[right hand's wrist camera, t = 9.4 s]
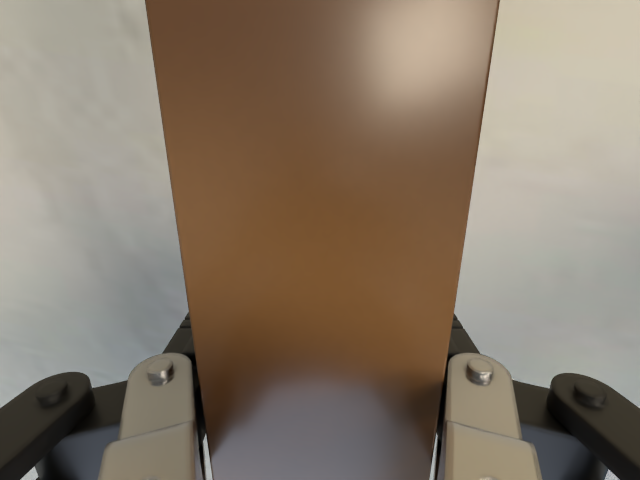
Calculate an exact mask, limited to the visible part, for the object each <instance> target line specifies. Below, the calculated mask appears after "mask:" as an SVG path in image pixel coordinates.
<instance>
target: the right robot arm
mask: <svg viewBox="0 0 640 480" xmlns="http://www.w3.org/2000/svg"><path fill="white" fill-rule="evenodd" d="M436 433H437V435H438V438H437V444H436V453H435V465H434V478H433V480H604V479H605V477H606V474H607V471H608V469H609V470H610V471H611V472H612V473H614V474H615V475H616V476H617V477H618V478H619V479H620V480H640V408H638V407H637V406H636V405H634V404H633V403H632V402H630V401H629V400H627V399H626V398H625V397H623V396H622V395H621V394H619V393H618V392H616V391H615V390H614V389H612V388H611V387H609V386H608V385H606V384H604V383H602V382H600V381H598V380H596V379H593V378H591V377H588V376H584V375H580V374H574V373H563V374H559V375H556V376H555V377H554V378H553V379H552V381H551V385H550V389H549V388H544V387H539V386H535V385H530V384H526V383H522V382H518V381H515V380H512V378H511V375H510V373H509V371H508V370H507V369H506V368H505V367H504V366H503V365H502V364H500V363H499V362H497V361H496V360H494V359H492V358H490V357H487V356H484V355H481V354H480V353H479V351H478V349H477V348H476V346H475V345H474V343H473V342H472V340H471V339H470V337H469V336H468V334H467V333H466V331H465V329H463V326H462V325H461V323H460V322H459V320H457V317H456V316H455V314H454V315H453V321H452V328H451V335H450V342H449V349H448V355H447V362H446V369H445V376H444V383H443V389H442V396H441V403H440V410H439V416H438V423H437V430H436ZM205 434H206V428H205V421H204V414H203V407H202V400H201V393H200V385H199V378H198V371H197V364H196V357H195V350H194V343H193V336H192V329H191V322H190V315H189V312H188V314H187V316H186V317H185V320H183V322H182V323H181V325H180V328H178V330H177V331H176V333H175V334H174V336H173V337H172V339H171V341H170V342H169V344H168V345H167V347H166V348H165V350H164V352H163V353H162V354H159V355H156V356H153V357H150V358H148V359H146V360H144V361H143V362H141V363H140V364H138V365H137V366H136V367H135V368H134V369H133V370H132V371H131V373H130V375H129V378H128V380H126V381H123V382H119V383H114V384H110V385H105V386H100V387H96V388H92V386H91V383H90V379H89V377H88V376H87V375H85V374H83V373H80V372H67V373H61V374H57V375H53V376H51V377H48V378H45V379H43V380H41V381H39V382H37V383H35V384H34V385H32V386H31V387H29V388H28V389H26V390H25V391H24V392H22V393H21V394H19V395H18V396H17V397H15V398H14V399H13V400H11V401H10V402H8V403H7V404H6V405H4V406H3V407H2V408H0V480H20V479H21V478H22V477H23V476H24V475H25V474H27V473H28V472H29V471H30V470H31V469H32V468H33V467H34V466H35V468H36V471H37V473H38V476H39V477H38V478H37V479H36V480H207V478H206V465H205V453H204V444H203V440H204V437H205Z"/></svg>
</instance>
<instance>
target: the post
mask: <svg viewBox="0 0 640 480" xmlns="http://www.w3.org/2000/svg"><path fill="white" fill-rule="evenodd" d="M499 2H500V0H145V4H146V11H147V18H148V25H149V32H150V39H151V46H152V53H153V60H154V67H155V74H156V81H157V89H158V96H159V103H160V110H161V117H162V124H163V131H164V138H165V145H166V152H167V159H168V166H169V173H170V180H171V188H172V195H173V202H174V209H175V216H176V223H177V230H178V237H179V244H180V251H181V258H182V265H183V272H184V279H185V286H186V294H187V301H188V308H189V315H190V322H191V329H192V336H193V343H194V350H195V357H196V364H197V371H198V378H199V385H200V393H201V400H202V407H203V414H204V421H205V428H206V435H207V442H208V449H209V456H210V463H211V470H212V477H213V480H429V478H430V471H431V464H432V457H433V450H434V444H435V437H436V430H437V423H438V416H439V410H440V403H441V396H442V389H443V383H444V376H445V369H446V362H447V355H448V349H449V342H450V335H451V328H452V321H453V315H454V308H455V301H456V294H457V287H458V281H459V274H460V267H461V260H462V254H463V247H464V240H465V233H466V226H467V220H468V213H469V206H470V199H471V192H472V186H473V179H474V172H475V165H476V158H477V152H478V145H479V138H480V131H481V125H482V118H483V111H484V104H485V97H486V91H487V84H488V77H489V70H490V63H491V57H492V50H493V43H494V36H495V29H496V23H497V16H498V9H499Z"/></svg>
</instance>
